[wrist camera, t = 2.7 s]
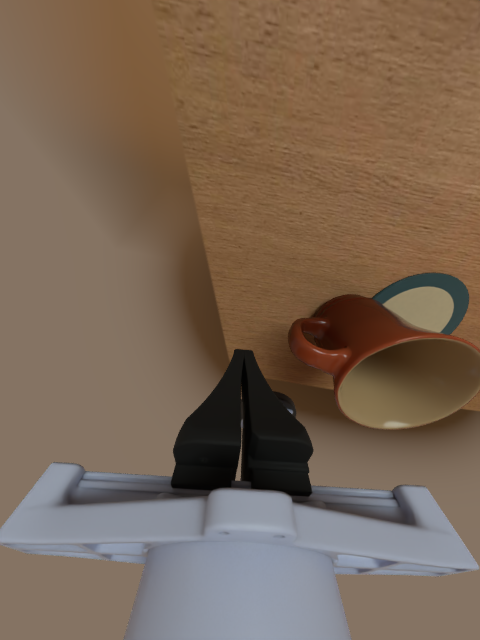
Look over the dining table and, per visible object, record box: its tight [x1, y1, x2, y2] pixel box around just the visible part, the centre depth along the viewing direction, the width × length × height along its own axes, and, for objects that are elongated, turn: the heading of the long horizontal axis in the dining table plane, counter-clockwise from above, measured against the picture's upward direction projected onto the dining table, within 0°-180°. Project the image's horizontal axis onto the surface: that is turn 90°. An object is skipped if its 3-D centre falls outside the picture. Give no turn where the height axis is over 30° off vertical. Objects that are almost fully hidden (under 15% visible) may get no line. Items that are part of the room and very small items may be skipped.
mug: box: [288, 294, 480, 430], centre depth 16 cm, size 12×9×10 cm
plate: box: [372, 273, 469, 335], centre depth 21 cm, size 12×12×1 cm
